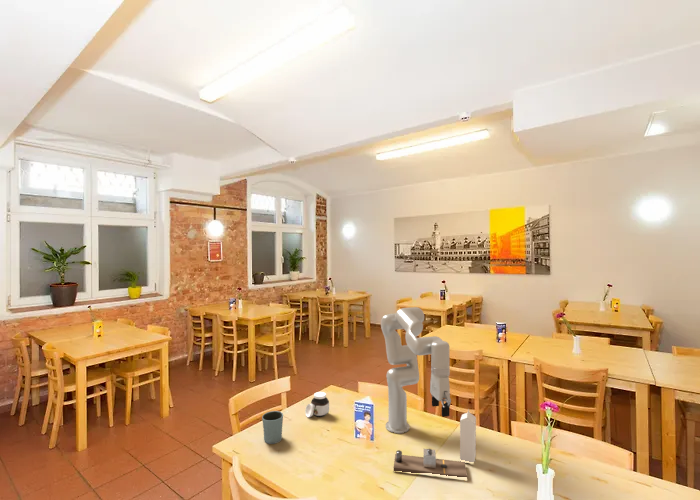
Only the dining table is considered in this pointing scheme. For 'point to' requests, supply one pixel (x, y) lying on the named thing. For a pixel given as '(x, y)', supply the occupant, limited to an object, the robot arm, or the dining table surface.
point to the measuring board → (417, 466)
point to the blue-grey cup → (272, 426)
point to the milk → (468, 437)
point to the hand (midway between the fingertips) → (440, 411)
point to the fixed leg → (399, 456)
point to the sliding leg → (429, 458)
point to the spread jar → (318, 405)
